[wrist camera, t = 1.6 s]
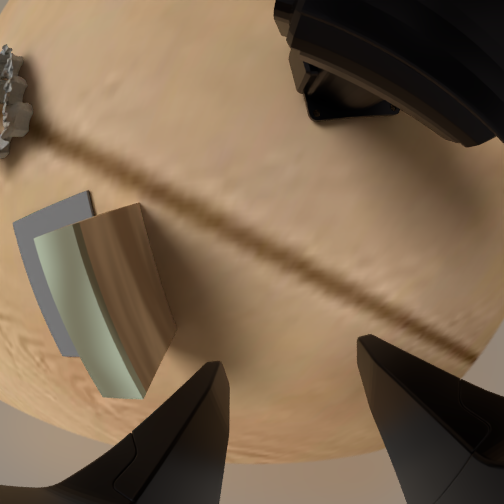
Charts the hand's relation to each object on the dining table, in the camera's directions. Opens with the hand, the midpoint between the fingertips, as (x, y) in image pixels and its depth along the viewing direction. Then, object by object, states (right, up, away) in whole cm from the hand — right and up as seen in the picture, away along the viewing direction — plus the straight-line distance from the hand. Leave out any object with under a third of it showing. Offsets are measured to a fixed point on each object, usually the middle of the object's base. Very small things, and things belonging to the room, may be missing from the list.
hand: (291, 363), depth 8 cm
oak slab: (-9, +2, +12) cm, 16 cm away
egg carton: (-24, +17, +9) cm, 31 cm away
